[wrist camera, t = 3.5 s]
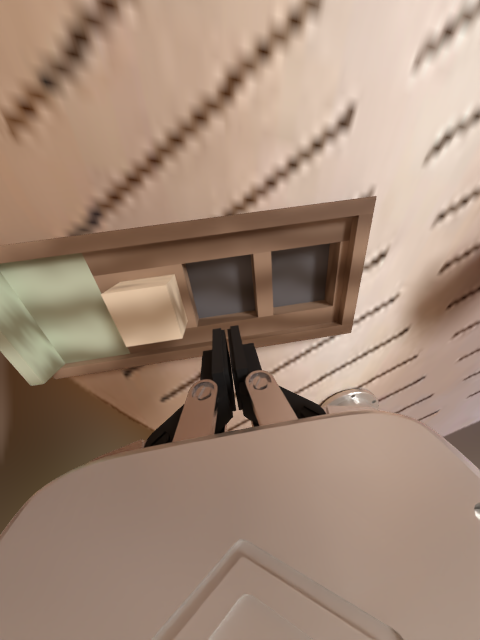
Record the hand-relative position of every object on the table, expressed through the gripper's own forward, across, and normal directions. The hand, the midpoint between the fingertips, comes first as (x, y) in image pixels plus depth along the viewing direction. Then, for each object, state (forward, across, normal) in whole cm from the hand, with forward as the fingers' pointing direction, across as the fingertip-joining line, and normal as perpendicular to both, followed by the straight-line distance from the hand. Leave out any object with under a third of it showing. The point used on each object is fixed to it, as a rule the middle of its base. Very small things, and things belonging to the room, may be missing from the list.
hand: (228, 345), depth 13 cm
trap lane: (+14, +4, +1) cm, 15 cm away
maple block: (+12, +8, +1) cm, 14 cm away
